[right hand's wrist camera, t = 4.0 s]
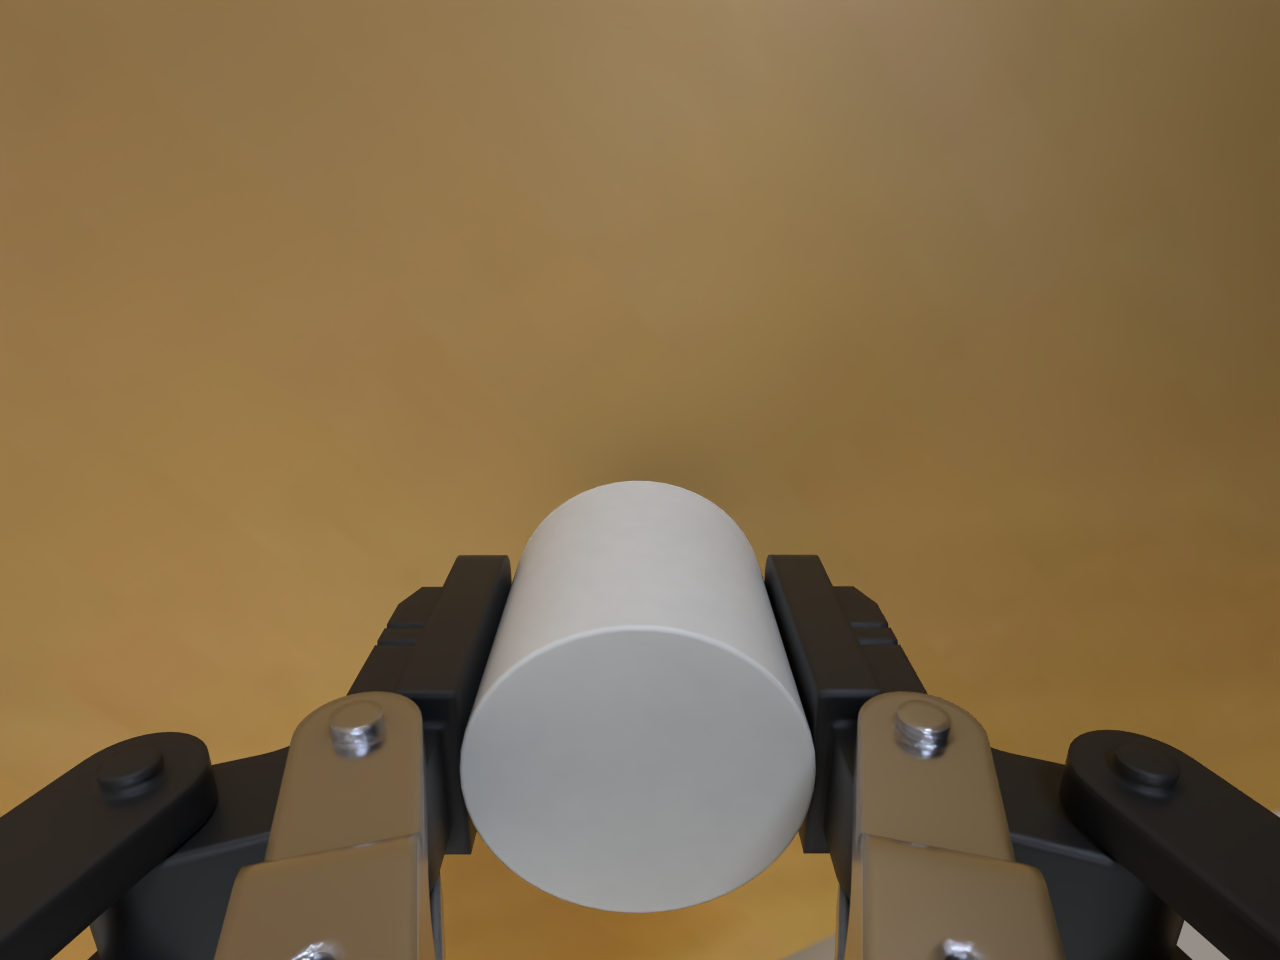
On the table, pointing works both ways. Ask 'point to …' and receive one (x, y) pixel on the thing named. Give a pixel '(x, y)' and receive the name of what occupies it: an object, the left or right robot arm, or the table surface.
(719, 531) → the canister
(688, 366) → the table surface
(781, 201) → the table surface
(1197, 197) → the table surface
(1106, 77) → the table surface
